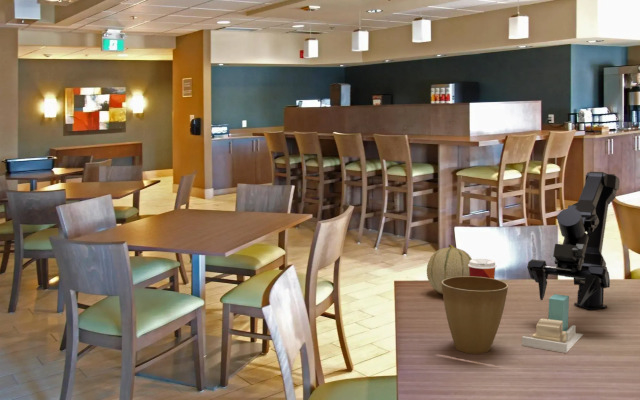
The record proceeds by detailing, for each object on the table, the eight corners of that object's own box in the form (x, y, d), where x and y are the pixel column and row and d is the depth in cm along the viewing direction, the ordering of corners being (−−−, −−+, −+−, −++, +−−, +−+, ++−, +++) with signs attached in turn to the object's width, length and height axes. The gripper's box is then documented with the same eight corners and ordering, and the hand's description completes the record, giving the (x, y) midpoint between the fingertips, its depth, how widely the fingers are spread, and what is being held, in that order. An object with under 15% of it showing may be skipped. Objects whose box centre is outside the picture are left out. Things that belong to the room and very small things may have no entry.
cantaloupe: (437, 302, 203) (438, 252, 202) (419, 290, 218) (419, 243, 216) (484, 299, 207) (485, 249, 205) (462, 287, 221) (463, 240, 219)
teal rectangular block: (553, 331, 173) (554, 294, 172) (567, 333, 171) (568, 295, 170) (547, 336, 169) (549, 298, 168) (562, 339, 167) (563, 300, 166)
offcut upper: (540, 328, 167) (540, 318, 167) (562, 331, 165) (562, 320, 165) (536, 335, 162) (536, 325, 162) (558, 338, 160) (559, 327, 160)
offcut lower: (540, 337, 169) (540, 327, 168) (566, 341, 165) (566, 331, 165) (531, 345, 163) (532, 335, 162) (558, 350, 159) (558, 339, 159)
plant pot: (494, 365, 152) (496, 293, 150) (430, 354, 159) (431, 285, 158) (514, 346, 164) (516, 279, 162) (454, 336, 172) (455, 272, 170)
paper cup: (496, 314, 190) (497, 264, 189) (467, 313, 192) (468, 263, 190) (494, 307, 198) (495, 258, 196) (467, 305, 200) (467, 257, 198)
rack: (541, 330, 176) (542, 320, 176) (583, 336, 171) (583, 326, 170) (521, 347, 163) (522, 336, 163) (565, 355, 158) (566, 344, 157)
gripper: (530, 228, 178) (515, 278, 170) (608, 234, 168) (595, 288, 160) (538, 253, 185) (524, 303, 177) (613, 261, 175) (602, 314, 167)
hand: (560, 301), depth 170 cm, fingers open, 9 cm apart
